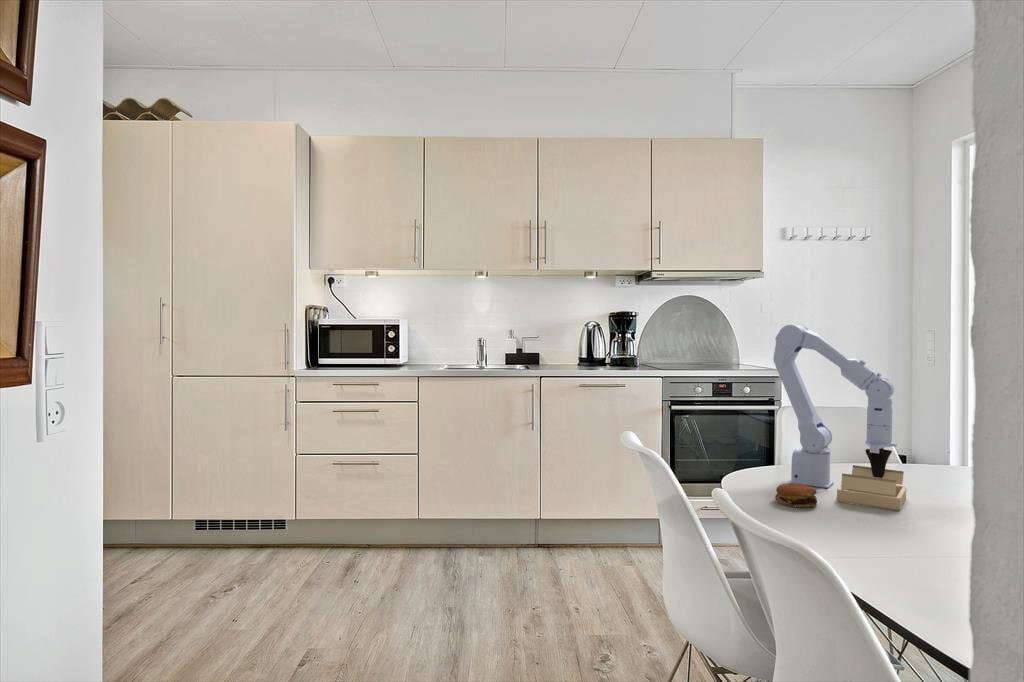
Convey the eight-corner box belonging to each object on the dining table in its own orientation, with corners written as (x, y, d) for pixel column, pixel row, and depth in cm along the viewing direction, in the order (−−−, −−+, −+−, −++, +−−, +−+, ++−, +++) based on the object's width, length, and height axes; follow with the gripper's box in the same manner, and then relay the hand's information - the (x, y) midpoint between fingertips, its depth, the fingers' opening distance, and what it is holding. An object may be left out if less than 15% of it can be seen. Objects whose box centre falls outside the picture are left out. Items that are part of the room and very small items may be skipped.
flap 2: (902, 484, 167) (903, 472, 168) (902, 484, 166) (903, 471, 168) (851, 478, 173) (853, 465, 175) (851, 477, 173) (852, 465, 175)
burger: (770, 497, 166) (770, 479, 166) (808, 499, 165) (809, 480, 165) (782, 509, 156) (783, 489, 156) (823, 510, 156) (824, 491, 155)
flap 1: (841, 487, 162) (842, 473, 163) (841, 487, 163) (842, 473, 163) (895, 495, 155) (896, 480, 156) (895, 495, 156) (896, 480, 156)
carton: (836, 501, 163) (836, 489, 163) (846, 490, 174) (847, 478, 174) (899, 511, 155) (899, 498, 155) (906, 498, 166) (906, 486, 166)
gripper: (893, 429, 162) (891, 484, 162) (900, 423, 174) (899, 475, 174) (861, 426, 167) (859, 480, 167) (870, 421, 178) (869, 471, 178)
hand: (878, 477), depth 171 cm, fingers closed, pressing on flap 2
